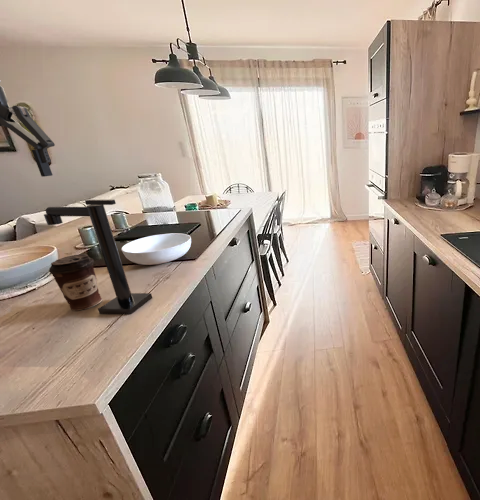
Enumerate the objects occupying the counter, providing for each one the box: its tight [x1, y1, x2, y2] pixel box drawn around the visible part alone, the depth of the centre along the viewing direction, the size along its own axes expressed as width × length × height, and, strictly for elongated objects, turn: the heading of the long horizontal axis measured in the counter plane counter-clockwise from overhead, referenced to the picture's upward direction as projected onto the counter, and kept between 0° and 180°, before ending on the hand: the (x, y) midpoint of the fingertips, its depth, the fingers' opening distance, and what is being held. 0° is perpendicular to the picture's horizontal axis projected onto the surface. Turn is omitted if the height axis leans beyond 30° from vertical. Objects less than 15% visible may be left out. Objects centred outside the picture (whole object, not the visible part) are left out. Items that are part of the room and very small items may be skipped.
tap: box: [43, 199, 153, 315], centre depth 70 cm, size 17×8×28 cm, turn 88°
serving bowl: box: [120, 232, 192, 266], centre depth 103 cm, size 21×21×7 cm
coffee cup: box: [48, 253, 103, 311], centre depth 73 cm, size 9×8×13 cm
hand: (15, 176), depth 74 cm, fingers open, 13 cm apart
